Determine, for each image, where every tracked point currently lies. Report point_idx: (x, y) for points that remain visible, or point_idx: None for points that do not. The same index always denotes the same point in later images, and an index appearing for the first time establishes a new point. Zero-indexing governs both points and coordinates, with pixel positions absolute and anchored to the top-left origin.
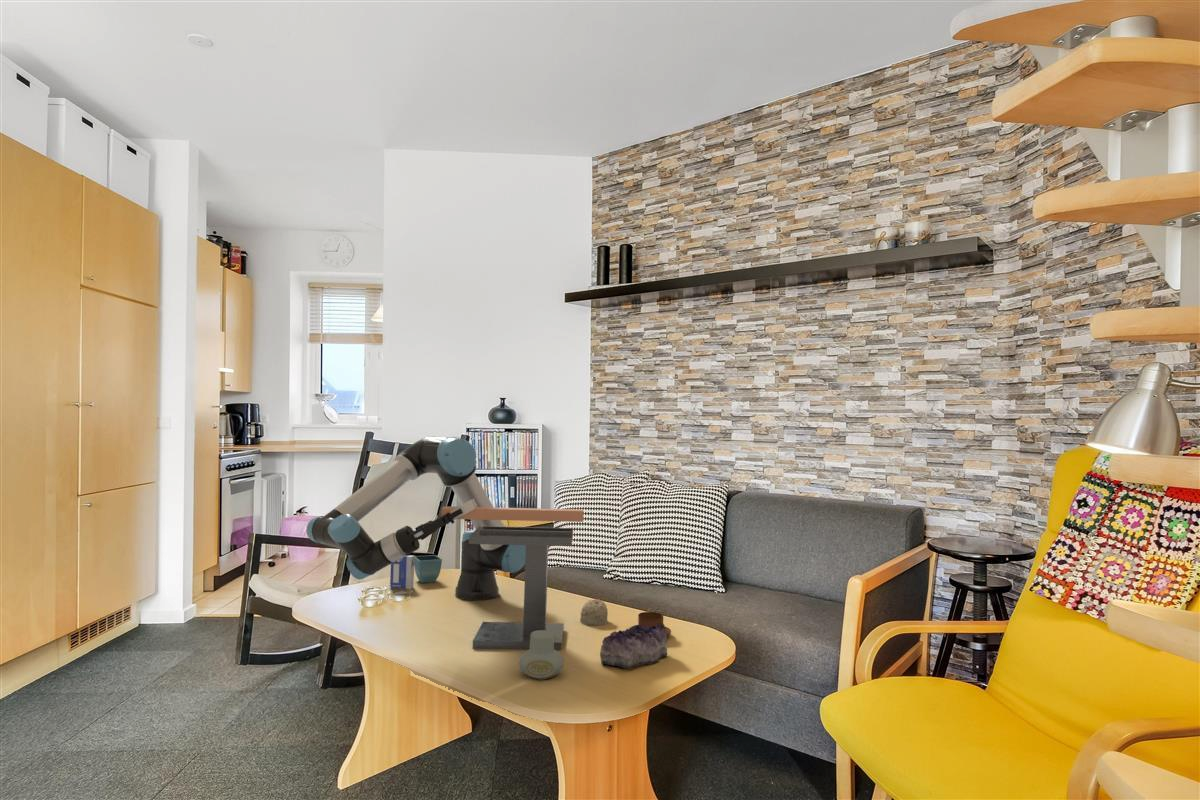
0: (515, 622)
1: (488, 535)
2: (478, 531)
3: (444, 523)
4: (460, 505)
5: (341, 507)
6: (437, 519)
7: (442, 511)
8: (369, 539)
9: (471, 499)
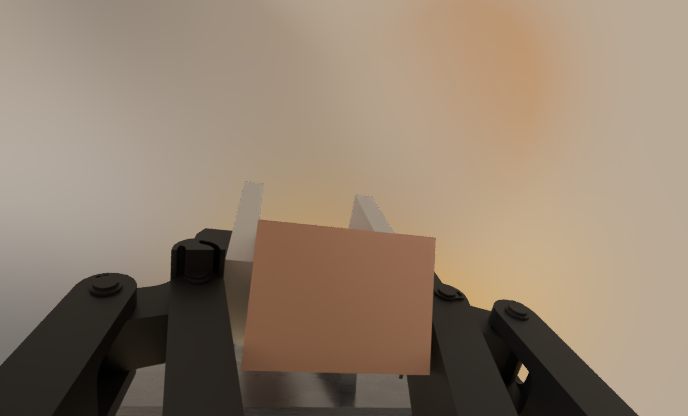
0: None
1: (397, 377)
2: (287, 397)
3: (526, 391)
4: (249, 223)
5: None
6: (587, 368)
7: (430, 279)
8: None
9: (259, 186)
